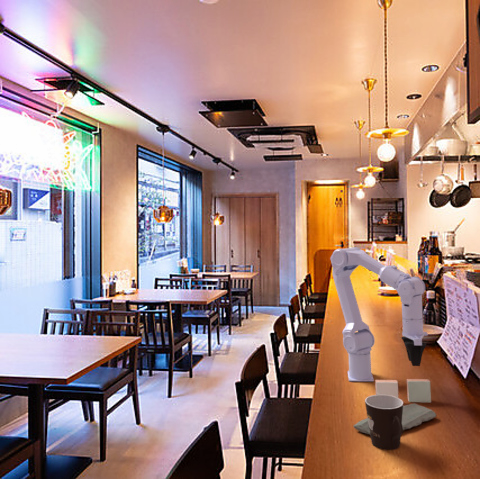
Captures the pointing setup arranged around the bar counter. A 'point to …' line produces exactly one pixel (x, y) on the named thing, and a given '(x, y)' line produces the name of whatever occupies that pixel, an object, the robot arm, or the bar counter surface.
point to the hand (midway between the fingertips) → (414, 363)
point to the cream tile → (387, 387)
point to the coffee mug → (385, 420)
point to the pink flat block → (418, 390)
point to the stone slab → (404, 418)
